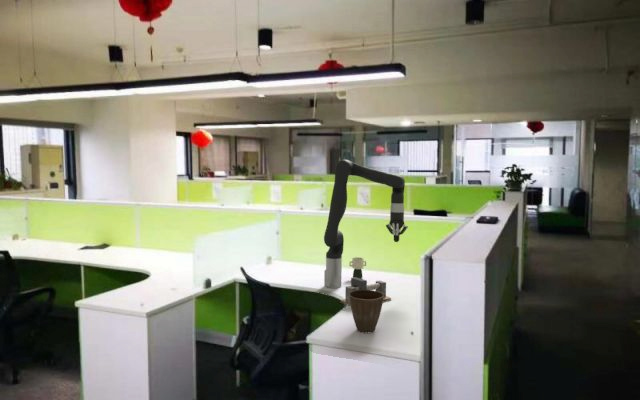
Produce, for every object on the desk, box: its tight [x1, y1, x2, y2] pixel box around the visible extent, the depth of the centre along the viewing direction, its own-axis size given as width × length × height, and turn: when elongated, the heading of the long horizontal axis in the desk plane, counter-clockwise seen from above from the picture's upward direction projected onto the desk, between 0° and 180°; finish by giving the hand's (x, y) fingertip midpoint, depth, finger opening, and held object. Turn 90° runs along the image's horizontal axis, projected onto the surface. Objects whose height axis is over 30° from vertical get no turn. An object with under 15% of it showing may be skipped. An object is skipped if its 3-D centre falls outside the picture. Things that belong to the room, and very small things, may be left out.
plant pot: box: [349, 290, 384, 334], centre depth 208 cm, size 15×15×16 cm
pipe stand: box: [340, 280, 392, 307], centre depth 253 cm, size 25×12×9 cm, turn 126°
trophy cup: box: [349, 256, 367, 279], centre depth 302 cm, size 11×7×13 cm, turn 99°
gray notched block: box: [350, 277, 368, 290], centre depth 249 cm, size 3×9×9 cm, turn 36°
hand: (396, 241), depth 269 cm, fingers closed
